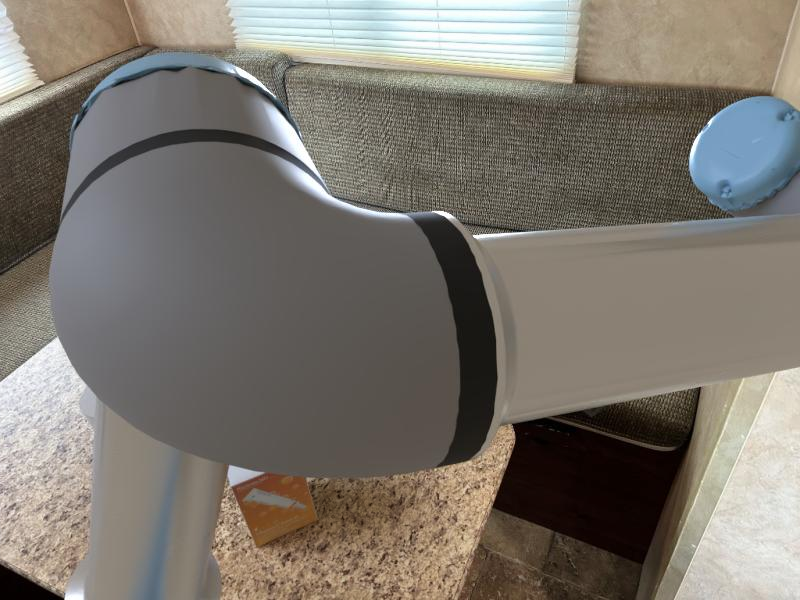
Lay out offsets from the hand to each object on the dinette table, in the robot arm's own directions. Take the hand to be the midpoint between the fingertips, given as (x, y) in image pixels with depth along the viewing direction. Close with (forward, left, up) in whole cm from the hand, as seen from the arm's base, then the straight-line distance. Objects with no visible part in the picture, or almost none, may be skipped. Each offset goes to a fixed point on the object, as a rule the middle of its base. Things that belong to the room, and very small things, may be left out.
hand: (536, 364), depth 69 cm
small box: (-32, -6, -17) cm, 37 cm away
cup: (-53, +6, -17) cm, 56 cm away
